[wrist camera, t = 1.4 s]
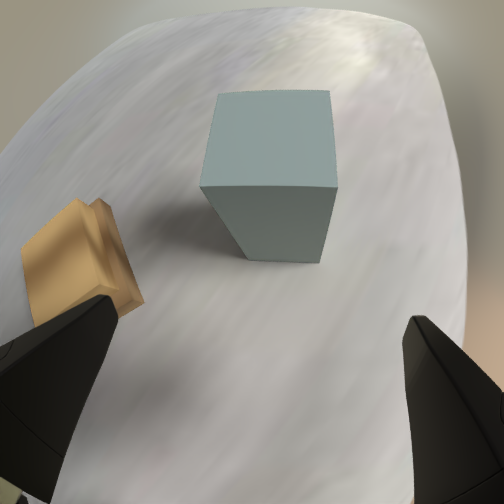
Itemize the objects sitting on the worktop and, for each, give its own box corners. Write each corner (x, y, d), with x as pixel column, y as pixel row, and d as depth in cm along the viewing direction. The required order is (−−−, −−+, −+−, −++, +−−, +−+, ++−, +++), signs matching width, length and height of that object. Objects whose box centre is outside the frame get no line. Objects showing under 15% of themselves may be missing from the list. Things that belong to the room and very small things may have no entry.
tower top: (119, 290, 20) (99, 283, 18) (56, 333, 20) (35, 330, 18) (93, 209, 22) (76, 197, 20) (38, 256, 22) (20, 248, 20)
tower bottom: (148, 303, 22) (132, 299, 20) (70, 350, 22) (52, 350, 20) (113, 208, 25) (98, 197, 23) (47, 261, 25) (31, 255, 23)
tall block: (319, 263, 20) (337, 187, 10) (248, 260, 21) (199, 186, 11) (319, 198, 21) (329, 90, 11) (254, 197, 22) (218, 93, 12)
